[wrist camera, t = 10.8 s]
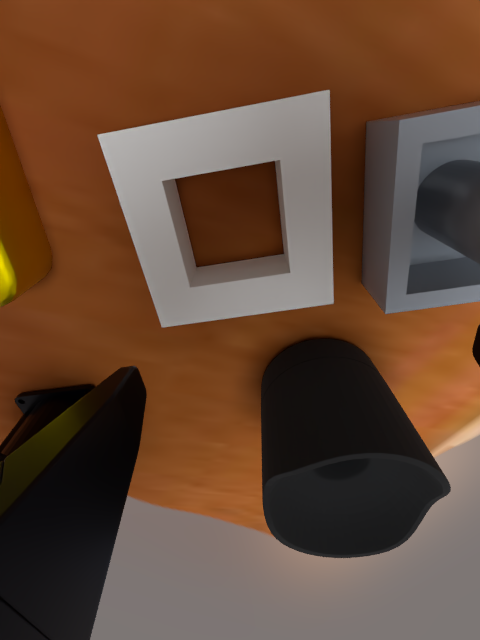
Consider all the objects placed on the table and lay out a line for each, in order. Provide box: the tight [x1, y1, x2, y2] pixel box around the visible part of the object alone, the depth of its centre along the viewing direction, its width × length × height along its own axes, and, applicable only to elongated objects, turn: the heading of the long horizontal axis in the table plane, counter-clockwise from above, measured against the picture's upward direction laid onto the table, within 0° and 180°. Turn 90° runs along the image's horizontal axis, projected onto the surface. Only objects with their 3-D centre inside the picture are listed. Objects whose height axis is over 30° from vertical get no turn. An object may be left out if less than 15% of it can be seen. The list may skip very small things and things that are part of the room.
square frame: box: [97, 90, 334, 328], centre depth 18 cm, size 10×10×3 cm
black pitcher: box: [261, 339, 451, 558], centre depth 21 cm, size 9×9×10 cm
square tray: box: [362, 101, 480, 314], centre depth 17 cm, size 9×9×4 cm
